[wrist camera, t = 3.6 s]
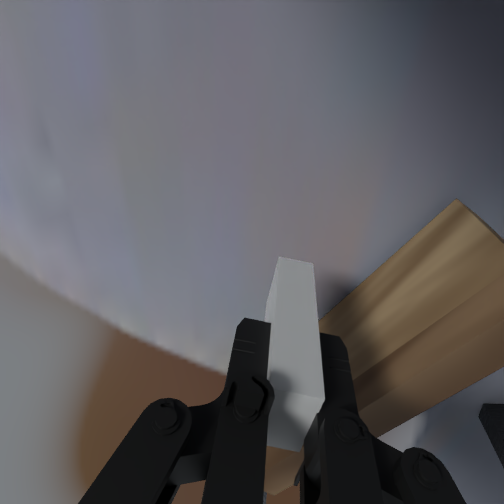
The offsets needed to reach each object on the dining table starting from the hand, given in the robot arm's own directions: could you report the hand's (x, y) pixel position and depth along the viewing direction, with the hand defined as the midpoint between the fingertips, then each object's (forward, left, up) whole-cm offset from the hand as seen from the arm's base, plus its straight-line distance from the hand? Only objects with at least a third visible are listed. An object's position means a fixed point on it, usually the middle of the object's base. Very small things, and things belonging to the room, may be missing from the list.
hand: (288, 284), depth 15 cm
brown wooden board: (+5, +3, -4) cm, 7 cm away
